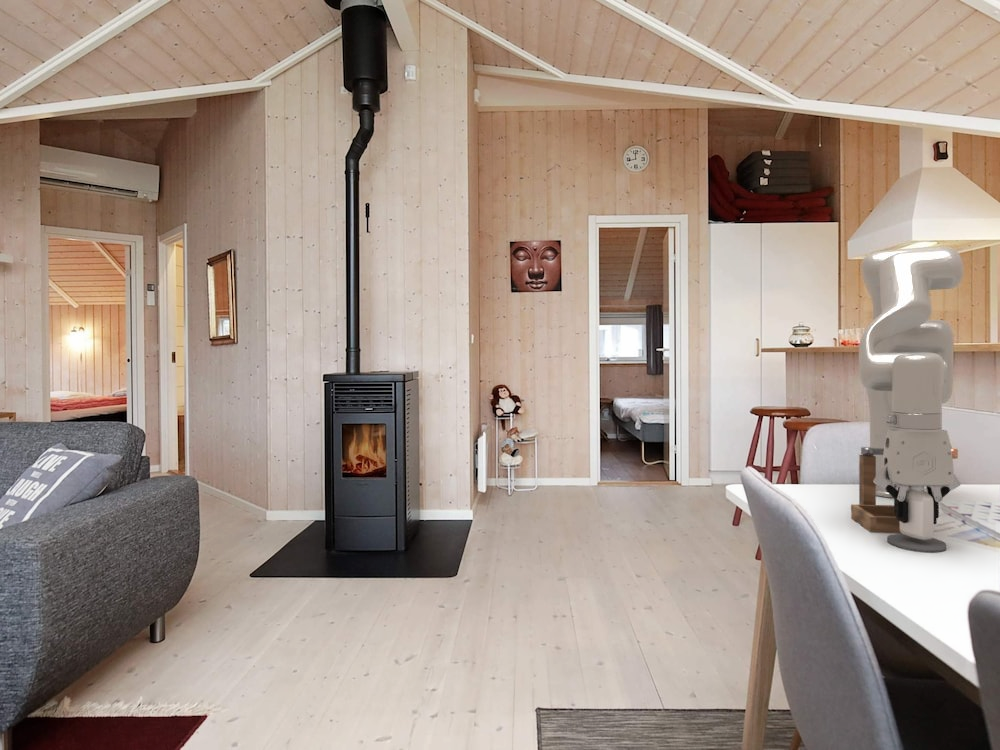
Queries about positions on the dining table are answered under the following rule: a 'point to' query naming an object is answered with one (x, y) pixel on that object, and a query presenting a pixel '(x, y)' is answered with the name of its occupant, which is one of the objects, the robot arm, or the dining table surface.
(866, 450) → the ball-tipped grey rod
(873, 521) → the wooden frame with post
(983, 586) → the dining table surface
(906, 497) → the eye dropper bottle
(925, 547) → the mat
